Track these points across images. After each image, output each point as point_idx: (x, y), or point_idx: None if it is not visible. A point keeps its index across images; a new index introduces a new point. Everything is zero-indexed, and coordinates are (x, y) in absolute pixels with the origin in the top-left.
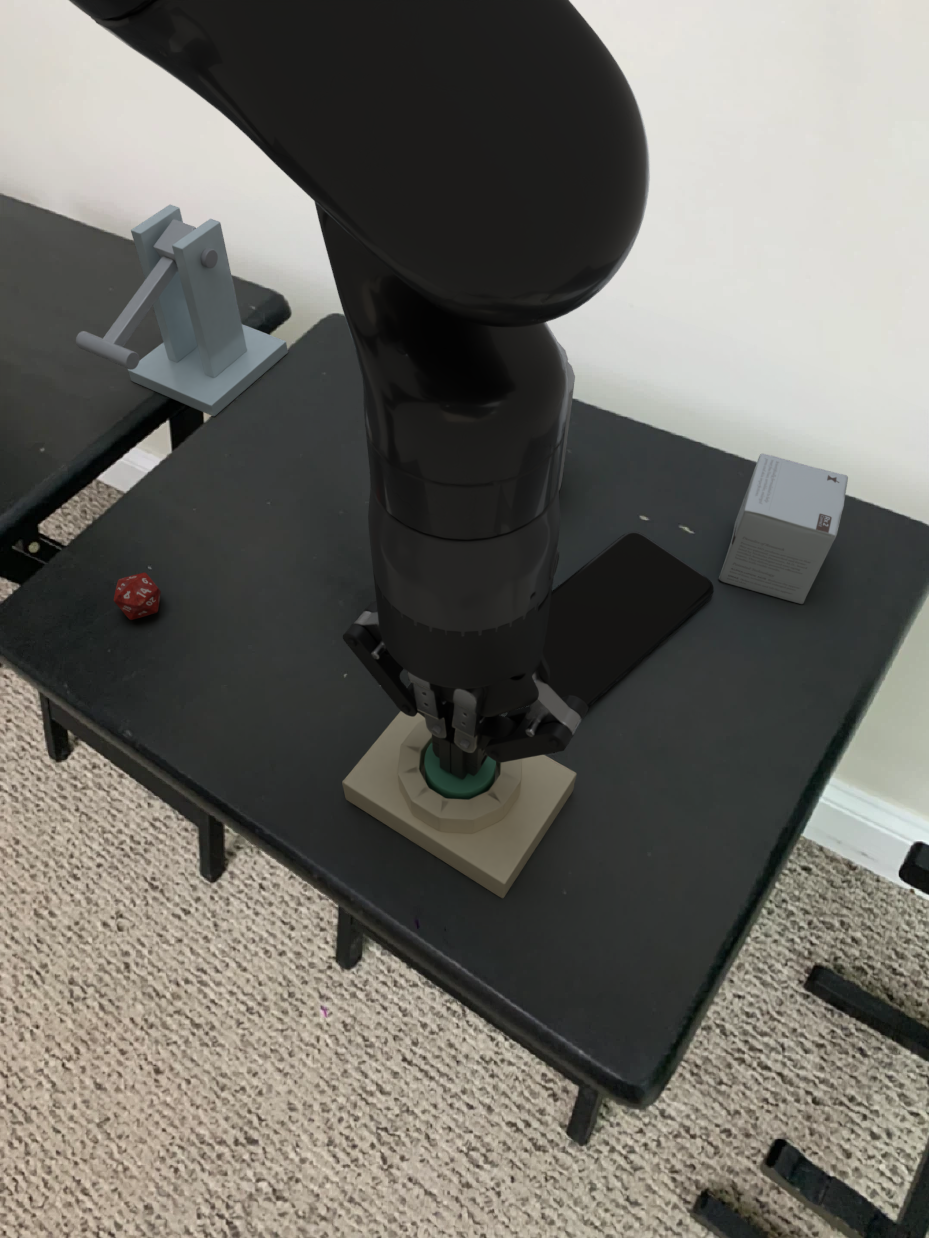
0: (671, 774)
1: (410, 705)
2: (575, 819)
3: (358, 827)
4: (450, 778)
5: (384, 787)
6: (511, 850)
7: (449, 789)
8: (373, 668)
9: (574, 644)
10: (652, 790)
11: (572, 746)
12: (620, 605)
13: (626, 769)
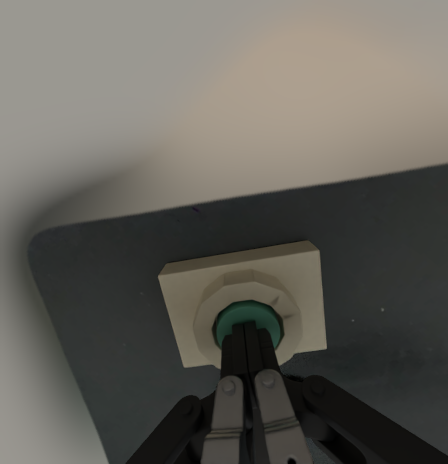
0: (152, 389)
1: (315, 405)
2: (173, 333)
3: (283, 231)
4: (241, 318)
5: (286, 270)
6: (173, 297)
7: (235, 310)
8: (415, 456)
9: (260, 426)
10: (153, 375)
11: (211, 367)
12: (256, 461)
13: (174, 376)
